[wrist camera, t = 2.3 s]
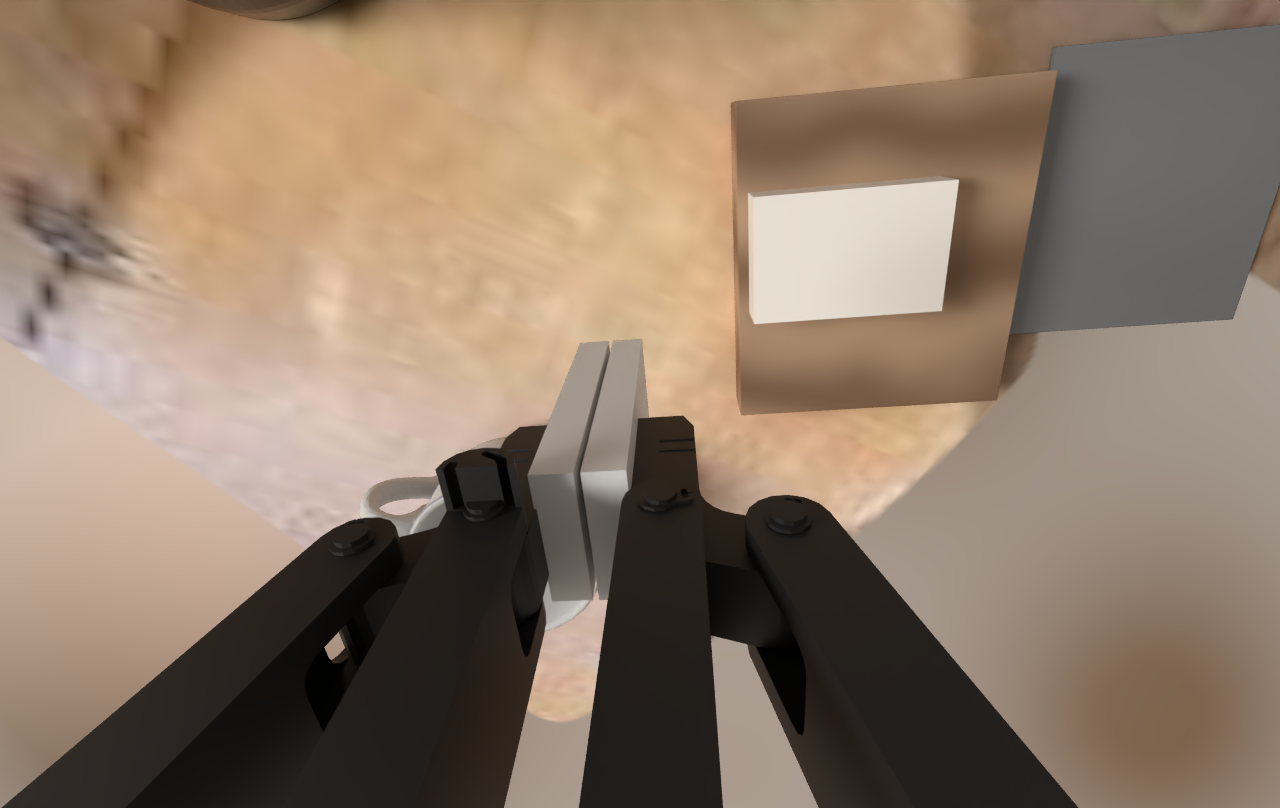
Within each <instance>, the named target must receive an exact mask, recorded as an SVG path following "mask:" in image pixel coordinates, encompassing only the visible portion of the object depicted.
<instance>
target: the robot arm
mask: <svg viewBox="0 0 1280 808" xmlns="http://www.w3.org/2000/svg"><path fill="white" fill-rule="evenodd" d="M189 1H191V2H194V3H196V4H199V5H202V6H205V7H209V8H212V9H216V10H220V11H224V12H228V13H231V14H235V15H239V16H244V17H249V18H254V19H263V20H282V19H291V18H297V17H302V16H305V15H309V14H312V13H315V12H317V11H320V10H322V9H324V8H326V7H328V6H330V5H332V4H333V3H335V2H336V1H338V0H189ZM436 473H437V477H438V481H439V484H440V488H441V492H442V495H443V499H444V503H445V507H446V510H447V511H446V513H445V515H444V517H443V518H442V520H441V522H440V524H439V526H438V527H436V528H433V529H429V530H426V531H422V532H418V533H414V534H409V535H405V536H401V537H399V535H398V532H397V529H396V526H395V525H394V524H393V523H392V522H391V520H388V519H384V518H381V517H371V518H360V519H358V520H356V519H355V520H352V521H348V522H346V523H345V524H343V525H340V526H338V527H336V528H334V529H332V530H331V531H329V532H328V533H326V534H325V535H323V536H322V537H320V538H319V539H318V540H317V541H316V542H314V543H313V544H312V545H311V546H310V547H309V548H307V549H306V550H305V551H304V552H303V553H301V554H300V555H299V556H298V557H297V558H296V559H294V560H293V561H292V562H291V563H290V564H289V565H287V566H286V567H285V568H284V569H283V570H282V571H280V572H279V573H278V574H277V575H276V576H274V577H273V578H272V579H271V580H270V581H268V582H267V583H266V584H265V585H264V586H263V587H261V588H260V589H259V590H258V591H257V592H256V593H254V594H253V595H252V596H251V597H250V598H248V599H247V600H246V601H245V602H244V603H243V604H241V605H240V606H239V607H238V608H237V609H235V610H234V611H233V612H232V613H231V614H230V615H228V616H227V617H226V618H225V619H224V620H222V621H221V622H220V623H219V624H218V625H217V626H216V627H214V628H213V629H212V630H211V631H210V632H208V633H207V634H206V635H205V636H204V637H202V638H201V639H200V640H199V641H198V642H197V643H195V644H194V645H193V646H192V647H191V648H190V649H188V650H187V651H186V652H185V653H184V654H182V655H181V656H180V657H179V658H178V659H176V660H175V661H174V662H173V663H172V664H171V665H170V666H168V667H167V668H166V669H165V670H164V671H162V672H161V673H160V674H159V675H158V676H156V677H155V678H154V679H153V680H152V681H151V682H149V683H148V684H147V685H146V686H145V687H143V688H142V689H141V690H140V691H139V692H138V693H137V694H135V695H134V696H133V697H132V698H130V700H128V701H127V702H126V703H125V704H123V705H122V706H121V707H120V708H119V709H118V710H117V711H115V712H114V713H113V714H112V715H111V716H109V717H108V718H107V719H106V720H105V721H103V722H102V723H101V724H100V725H99V726H97V727H96V728H95V729H94V730H93V731H92V732H90V733H89V734H88V735H87V736H86V737H84V738H83V739H82V740H81V741H80V742H79V743H77V745H75V746H74V747H73V748H72V749H70V750H69V751H68V752H67V753H66V754H64V755H63V756H62V757H61V758H60V759H59V760H58V761H56V762H55V763H54V764H53V765H52V766H50V767H49V768H48V769H47V770H46V771H44V772H43V773H42V774H41V775H40V776H39V777H37V778H36V779H35V780H34V781H33V782H32V783H30V784H29V785H28V786H27V787H26V788H24V789H23V790H22V791H21V792H20V793H18V794H17V795H16V796H15V797H14V798H13V799H11V800H10V801H9V802H8V803H7V804H5V805H4V806H3V807H2V808H504V805H505V801H506V796H507V792H508V788H509V783H510V779H511V775H512V770H513V766H514V762H515V757H516V753H517V749H518V744H519V740H520V736H521V731H522V727H523V723H524V718H525V714H526V710H527V705H528V701H529V697H530V692H531V688H532V684H533V679H534V675H535V671H536V666H537V662H538V658H539V653H540V649H541V645H542V640H543V636H544V632H545V627H546V610H545V605H544V601H543V596H544V592H545V588H546V585H547V581H548V583H549V588H550V594H551V599H552V602H555V601H582V600H593V596H594V589H595V583H596V581H597V587H598V594H599V600H608V602H607V609H606V617H605V624H604V631H603V638H602V645H601V653H600V660H599V667H598V674H597V681H596V688H595V696H594V703H593V710H592V718H591V725H590V732H589V739H588V746H587V754H586V761H585V768H584V776H583V782H582V789H581V796H580V804H579V808H723V801H722V788H721V774H720V761H719V746H718V732H717V719H716V704H715V690H714V676H713V663H712V650H711V649H712V648H711V635H712V636H716V637H720V638H724V639H728V640H732V641H736V642H741V643H745V644H747V645H748V650H749V654H750V657H751V659H752V661H753V663H754V666H755V668H756V670H757V672H758V674H759V676H760V678H761V681H762V683H763V685H764V688H765V690H766V692H767V694H768V696H769V699H770V701H771V703H772V705H773V708H774V710H775V712H776V714H777V716H778V719H779V721H780V723H781V725H782V727H783V730H784V732H785V734H786V736H787V738H788V741H789V743H790V745H791V747H792V750H793V752H794V754H795V756H796V758H797V761H798V763H799V765H800V767H801V769H802V772H803V774H804V776H805V778H806V781H807V783H808V785H809V787H810V789H811V792H812V794H813V796H814V798H815V800H816V802H817V805H818V807H819V808H1078V807H1077V806H1076V804H1075V803H1074V802H1073V801H1072V800H1071V798H1070V797H1069V796H1068V795H1067V794H1066V792H1065V791H1064V790H1063V789H1062V788H1061V787H1060V785H1059V784H1058V783H1057V782H1056V781H1055V779H1054V778H1053V777H1052V776H1051V775H1050V773H1049V772H1048V771H1047V770H1046V769H1045V767H1044V766H1043V765H1042V764H1041V763H1040V762H1039V760H1038V759H1037V758H1036V757H1035V756H1034V754H1033V753H1032V752H1031V751H1030V750H1029V749H1028V747H1027V746H1026V745H1025V744H1024V743H1023V741H1022V740H1021V739H1020V738H1019V737H1018V735H1017V734H1016V733H1015V732H1014V731H1013V729H1012V728H1011V727H1010V726H1009V725H1008V724H1007V722H1006V721H1005V720H1004V719H1003V718H1002V716H1001V715H1000V714H999V713H998V712H997V710H996V709H995V708H994V707H993V706H992V704H991V703H990V702H989V701H988V700H987V699H986V697H985V696H984V695H983V694H982V693H981V691H980V690H979V689H978V688H977V687H976V685H975V684H974V683H973V682H972V681H971V679H970V678H969V677H968V676H967V675H966V674H965V672H964V671H963V670H962V669H961V668H960V666H959V665H958V664H957V663H956V662H955V660H954V659H953V658H952V657H951V656H950V654H949V653H948V652H947V651H946V650H945V649H944V647H943V646H942V645H941V644H940V643H939V641H938V640H937V639H936V638H935V637H934V635H933V634H932V633H931V632H930V631H929V629H928V628H927V627H926V626H925V625H924V624H923V622H922V621H921V620H920V619H919V618H918V617H917V615H916V614H915V613H914V612H913V610H912V609H911V608H910V607H909V606H908V605H907V603H906V602H905V601H904V600H903V599H902V597H901V596H900V595H899V594H898V593H897V591H896V590H895V589H894V588H893V587H892V585H891V584H890V583H889V582H888V581H887V580H886V578H885V577H884V576H883V575H882V574H881V572H880V571H879V570H878V569H877V568H876V566H874V564H873V563H872V562H871V561H870V559H869V558H868V557H867V556H866V555H865V553H864V552H863V551H862V550H861V549H860V547H859V546H858V545H857V544H856V543H855V541H854V540H853V539H852V538H851V537H850V536H849V534H848V533H847V532H846V531H845V530H844V528H843V527H842V526H841V525H840V524H839V522H838V521H837V520H836V519H835V518H834V516H833V515H832V514H831V513H830V512H829V511H828V510H827V509H826V508H824V507H823V506H822V505H821V504H819V503H817V502H815V501H812V500H810V499H807V498H805V497H798V496H791V495H781V496H771V497H768V498H765V499H762V500H759V501H757V502H756V503H755V504H753V505H752V506H751V507H750V508H749V509H748V512H747V514H746V516H745V515H739V514H734V513H729V512H725V511H722V510H720V509H717V508H715V507H713V506H712V505H710V504H709V503H707V502H706V501H705V500H704V498H703V497H702V496H701V494H700V490H699V483H698V472H697V460H696V448H695V437H694V426H693V425H692V424H691V423H690V422H689V421H688V420H687V419H686V418H685V417H684V416H669V417H652V418H649V412H648V401H647V390H646V379H645V368H644V357H643V346H642V339H632V340H617V341H613V344H612V348H611V352H610V348H609V341H603V342H588V343H580V345H579V348H578V350H577V353H576V355H575V358H574V360H573V363H572V365H571V368H570V370H569V373H568V375H567V378H566V380H565V383H564V385H563V388H562V390H561V393H560V395H559V398H558V400H557V403H556V405H555V408H554V410H553V413H552V415H551V418H550V420H549V423H548V425H545V426H528V427H519V428H518V429H517V430H516V431H514V432H513V433H512V434H510V435H509V436H508V437H507V438H505V440H504V442H503V444H502V446H501V448H479V449H473V450H468V451H465V452H462V453H459V454H456V455H454V456H453V457H451V458H449V459H447V460H445V461H444V462H443V463H442V464H441V465H440V466H439V467H438V468H437V469H436ZM338 632H339V634H340V636H341V639H342V641H343V644H344V646H345V649H344V650H343V651H342V652H341V653H340V654H339V655H338V656H337V657H335V658H334V659H333V660H330V659H329V657H328V655H327V653H326V650H325V648H324V647H325V646H326V645H327V644H328V643H329V641H330V640H331V639H332V638H333V637H334V636H335V635H336V634H337V633H338Z"/></svg>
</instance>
